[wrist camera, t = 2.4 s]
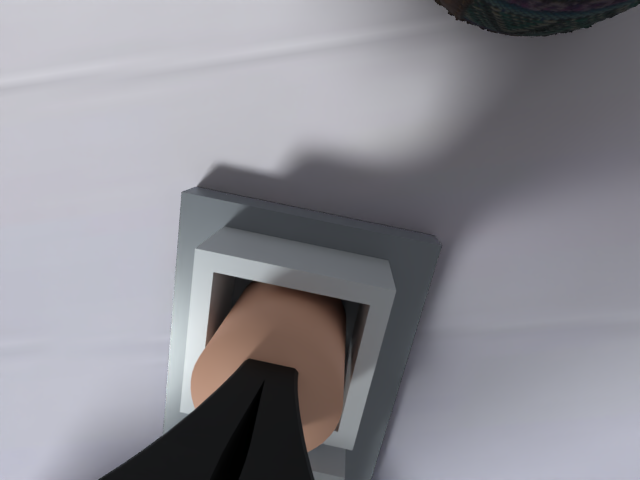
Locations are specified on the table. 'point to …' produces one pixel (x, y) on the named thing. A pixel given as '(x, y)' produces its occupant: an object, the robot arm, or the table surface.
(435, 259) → the button panel
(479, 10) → the mate gourd
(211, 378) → the terracotta button
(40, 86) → the table surface
